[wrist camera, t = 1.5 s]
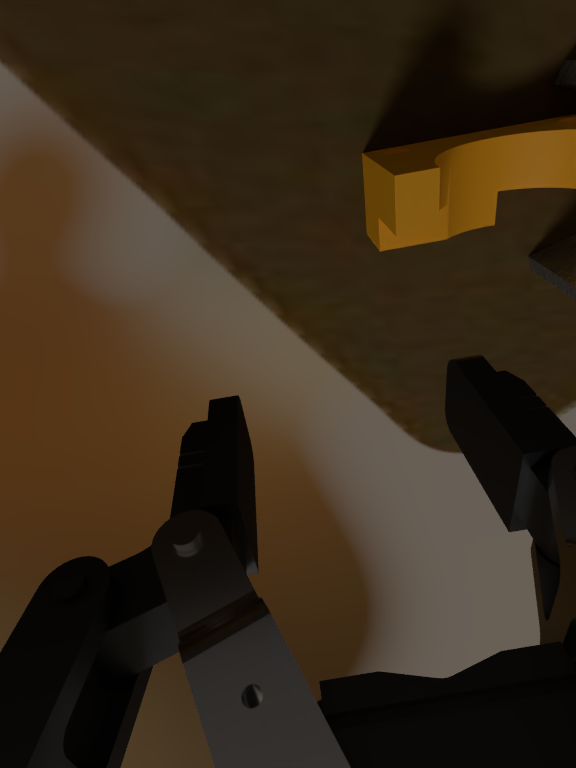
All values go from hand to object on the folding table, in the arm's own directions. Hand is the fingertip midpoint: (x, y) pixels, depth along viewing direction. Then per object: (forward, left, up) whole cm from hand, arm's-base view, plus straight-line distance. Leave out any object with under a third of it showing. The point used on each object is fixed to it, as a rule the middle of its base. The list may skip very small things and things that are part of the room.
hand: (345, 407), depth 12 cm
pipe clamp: (-1, +11, -18) cm, 21 cm away
